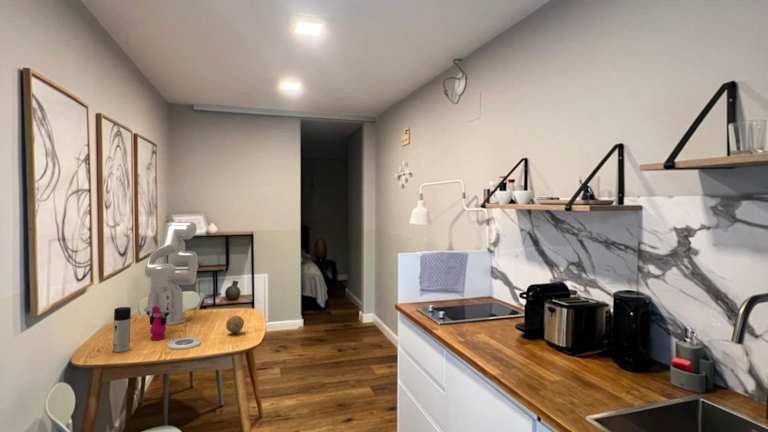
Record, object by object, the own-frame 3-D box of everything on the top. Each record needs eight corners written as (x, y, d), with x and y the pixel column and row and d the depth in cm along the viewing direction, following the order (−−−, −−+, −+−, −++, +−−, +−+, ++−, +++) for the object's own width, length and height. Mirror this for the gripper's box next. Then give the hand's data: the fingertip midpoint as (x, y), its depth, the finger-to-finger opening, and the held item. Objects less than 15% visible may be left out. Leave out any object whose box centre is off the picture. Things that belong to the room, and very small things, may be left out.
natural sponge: (237, 337, 216) (237, 318, 216) (222, 335, 217) (222, 317, 217) (246, 332, 225) (246, 314, 224) (232, 331, 226) (232, 313, 226)
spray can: (118, 347, 196) (118, 306, 195) (132, 347, 196) (133, 306, 196) (110, 352, 189) (110, 310, 189) (125, 352, 190) (126, 310, 189)
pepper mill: (158, 341, 206) (159, 302, 206) (146, 340, 208) (147, 301, 207) (169, 337, 213) (169, 299, 213) (157, 335, 215) (157, 298, 214)
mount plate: (177, 339, 210) (177, 336, 210) (206, 340, 210) (206, 337, 210) (161, 349, 195) (161, 346, 195) (192, 350, 195) (192, 347, 195)
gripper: (178, 288, 214) (178, 323, 214) (146, 288, 214) (146, 322, 214) (171, 291, 206) (170, 327, 206) (138, 290, 206) (137, 326, 207)
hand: (158, 324), depth 210 cm, fingers closed on pepper mill, 5 cm apart
